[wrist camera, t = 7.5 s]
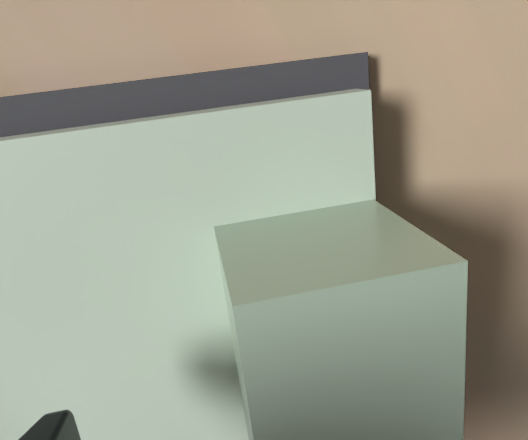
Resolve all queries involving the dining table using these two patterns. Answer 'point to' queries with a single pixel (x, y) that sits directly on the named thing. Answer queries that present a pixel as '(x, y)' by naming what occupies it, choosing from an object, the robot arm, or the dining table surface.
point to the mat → (180, 93)
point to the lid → (223, 282)
